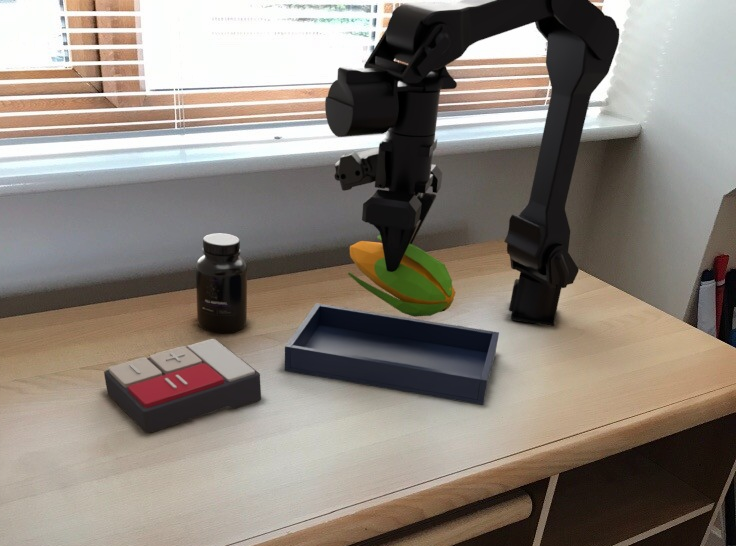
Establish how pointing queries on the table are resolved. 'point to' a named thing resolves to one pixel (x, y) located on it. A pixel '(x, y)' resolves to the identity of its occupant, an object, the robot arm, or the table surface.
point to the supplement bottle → (221, 285)
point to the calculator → (182, 384)
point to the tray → (393, 353)
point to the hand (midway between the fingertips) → (397, 261)
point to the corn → (405, 279)
